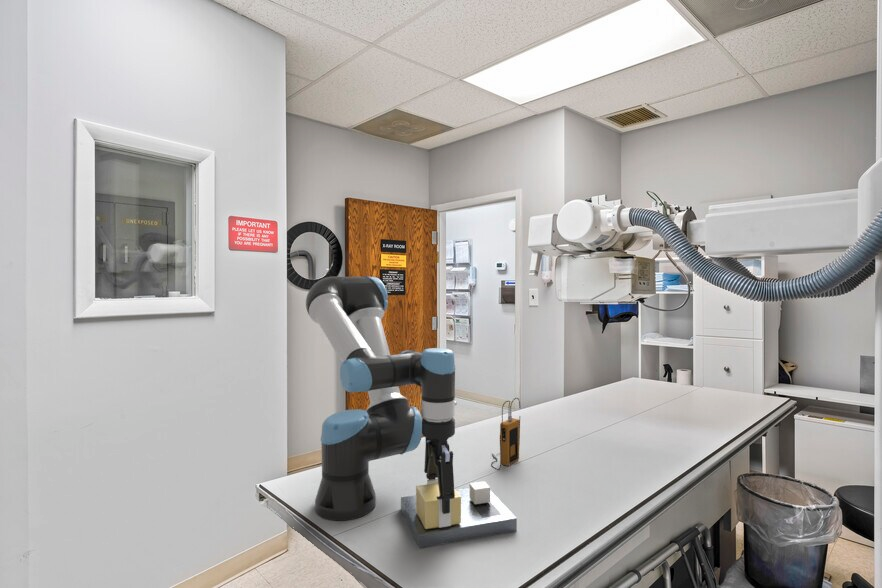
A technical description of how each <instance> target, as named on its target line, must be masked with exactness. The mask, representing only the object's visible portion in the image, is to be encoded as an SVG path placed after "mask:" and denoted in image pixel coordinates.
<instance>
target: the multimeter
mask: <svg viewBox="0 0 882 588" xmlns="http://www.w3.org/2000/svg"><path fill="white" fill-rule="evenodd" d="M515 400H518V406H519V407H521V402H520V399H519V397H515V398H513V400H512V401H510V400H506V401H505V402H503V404H502V408H501V422H500V424H499V431H500V432H499V453H498V455H499V459H500V461H499V462H500V463H499V464H500V465H499V468H496V467H494V466H493V465H492V464H494V463H495V462H497V461H498V458H497V456H496V454H494V453H493V452H491V454H492V457H493V458H494V459H495V460H494V461H492V462H491V463H490V467H492V468H493V469H495V470H497V471H499V470H501V467H502V465H503V466H507V467H509V466H511V465H512V464H513V463H515V462H518V461H519V460H520V441H521V440H520V437H521V436H520V435H521V417H519V418H512V417H513V415H512V404H513V402H514V401H515ZM507 402H509V403H508V407H509V411H508V415H507V420H505V421H504V419H503V413H504V407H505V406H504V405H505V404H506V403H507Z"/></svg>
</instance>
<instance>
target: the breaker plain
mask: <svg viewBox="0 0 882 588" xmlns="http://www.w3.org/2000/svg"><path fill="white" fill-rule="evenodd" d="M469 487H470V499H471V500H472V501H473V503H474V504H480V503H487V502H490V490H491V487H490V486H489V484H487V482H486V481H485V480H483V481H478V482H476V481H475V482H470V483H469Z"/></svg>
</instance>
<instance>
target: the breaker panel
mask: <svg viewBox="0 0 882 588" xmlns="http://www.w3.org/2000/svg"><path fill="white" fill-rule="evenodd" d="M455 489H456V491H457V492H458V493H459V495H460V496H461V523H460V524H454V525H451V526H446V527H440V528H439V527H435V528H429V529H425V528H424V526H423V524H422V522H421V520H420V518H419V516H418V514H417V512H416V494H415V495H414V494H413V495H408V496H401V497H400V510H401V512H402V514H403V517H404V518H405V521H406V523H407V525H408V527H409V529H410V532H411V534H412V535H413V539H414V540H415V542H416V545H417V548H418V549H423V548H428V547H435V546H441V545H445V544H446V545H447V544H453V543H457V542H463V541H467V540H473V539H480V538H486V537H491V536H496V535H502V534H507V533H508V534H509V533H512V532H517V529H518V527H517V519H518V517H516V516H515V515H514V513H513V512H512V511H511V510H510V509H509V508H508V507H507V506H506V505H505V504H504V503H503V502H502V500H501V499H500V498H499V497H498V496H497V495H496V494H495V492H493V490H491V489H490V502H487V503H480V504H474V503H473V501H472V500H471V499H470V486H469V487H464V488H455Z"/></svg>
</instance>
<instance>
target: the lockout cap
mask: <svg viewBox="0 0 882 588" xmlns="http://www.w3.org/2000/svg"><path fill="white" fill-rule="evenodd" d="M456 489H457V488H455V487H454V493H455V498H453V499H451V525H454V524H460V523H461V496H460V495H459V493H458V492H457V491H456ZM415 495H416V512H417V514H418V516H419V518H420V520H421V522H422V524H423V526H424V528H425V529H429V528H435V527H439V526H438V500H437V497H438V496H440V494H439V485H438V483H435V484H427V483H426V484H422V485H421V484H420V485H416V486H415Z"/></svg>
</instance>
